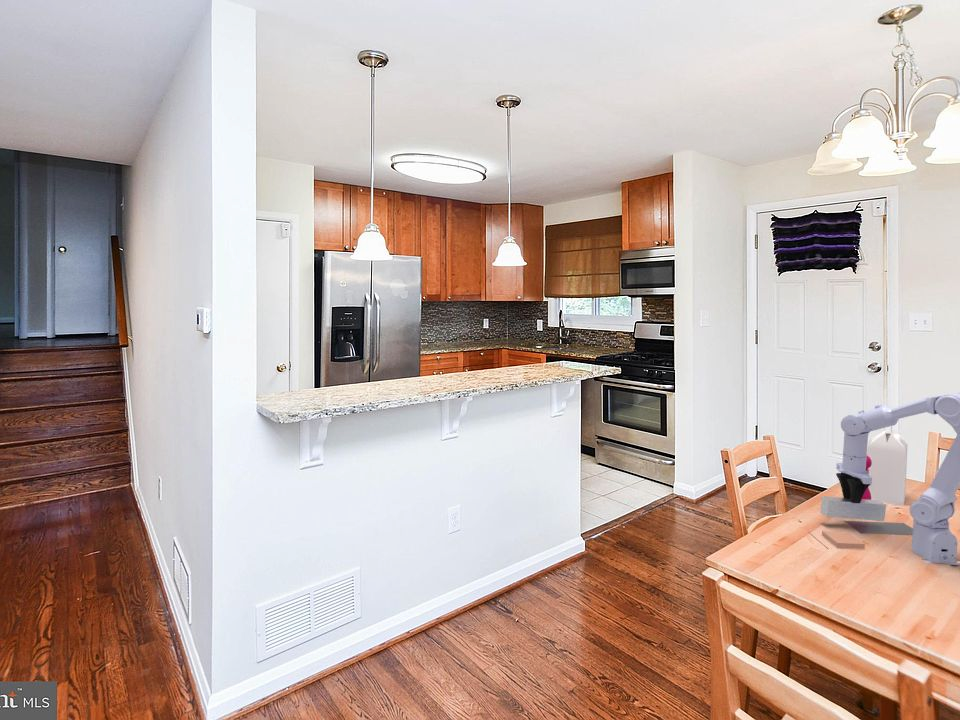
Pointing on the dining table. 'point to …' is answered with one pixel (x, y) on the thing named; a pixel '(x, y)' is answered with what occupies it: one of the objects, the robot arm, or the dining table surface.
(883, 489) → the milk
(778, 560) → the dining table surface
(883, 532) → the board
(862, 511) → the bar
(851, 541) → the tile
